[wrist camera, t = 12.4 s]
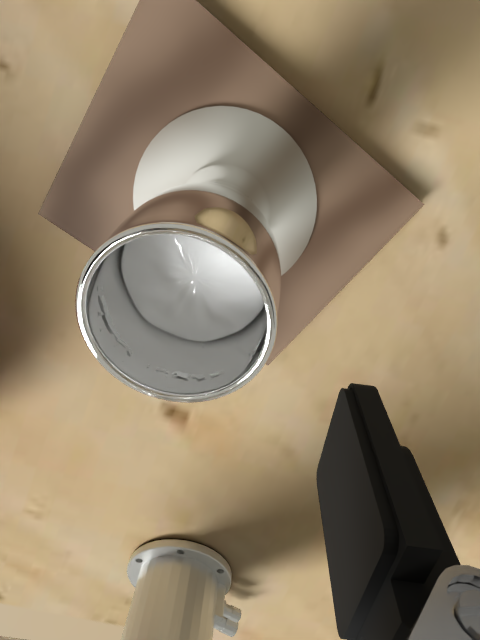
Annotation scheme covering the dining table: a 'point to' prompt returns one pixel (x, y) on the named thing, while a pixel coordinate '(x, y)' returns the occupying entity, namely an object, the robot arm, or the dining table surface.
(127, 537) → the dining table surface
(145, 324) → the silver metal tumbler
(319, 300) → the walnut board
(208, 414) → the dining table surface
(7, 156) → the dining table surface
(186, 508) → the dining table surface
